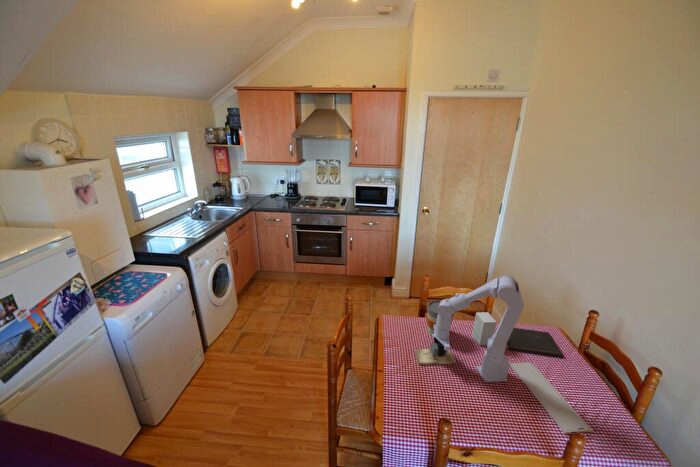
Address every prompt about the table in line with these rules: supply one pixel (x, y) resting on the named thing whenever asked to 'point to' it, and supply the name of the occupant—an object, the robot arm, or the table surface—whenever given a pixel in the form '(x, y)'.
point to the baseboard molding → (550, 399)
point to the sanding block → (436, 351)
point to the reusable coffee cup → (433, 315)
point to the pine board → (426, 358)
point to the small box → (483, 327)
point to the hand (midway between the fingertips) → (438, 351)
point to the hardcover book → (533, 343)
